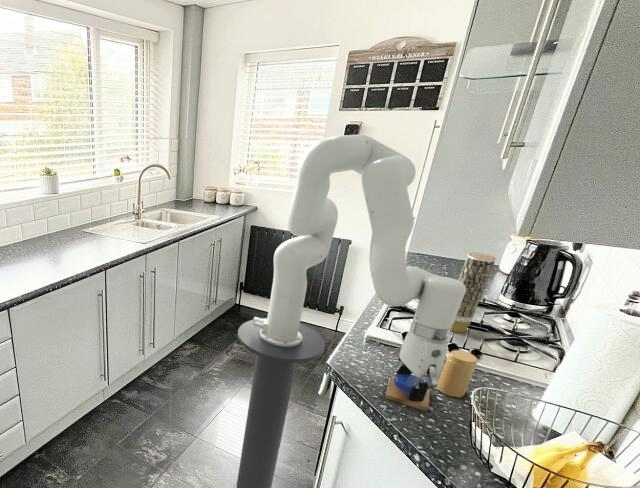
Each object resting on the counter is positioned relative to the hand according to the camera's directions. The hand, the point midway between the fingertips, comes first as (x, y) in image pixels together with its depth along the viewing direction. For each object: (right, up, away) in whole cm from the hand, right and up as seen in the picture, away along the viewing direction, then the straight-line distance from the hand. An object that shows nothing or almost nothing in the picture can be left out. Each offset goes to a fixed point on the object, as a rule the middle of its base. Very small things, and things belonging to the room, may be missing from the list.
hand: (407, 390), depth 106 cm
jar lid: (0, +2, -1) cm, 3 cm away
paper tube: (+37, +14, +32) cm, 51 cm away
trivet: (0, -1, +1) cm, 1 cm away
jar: (+13, 0, +3) cm, 13 cm away
